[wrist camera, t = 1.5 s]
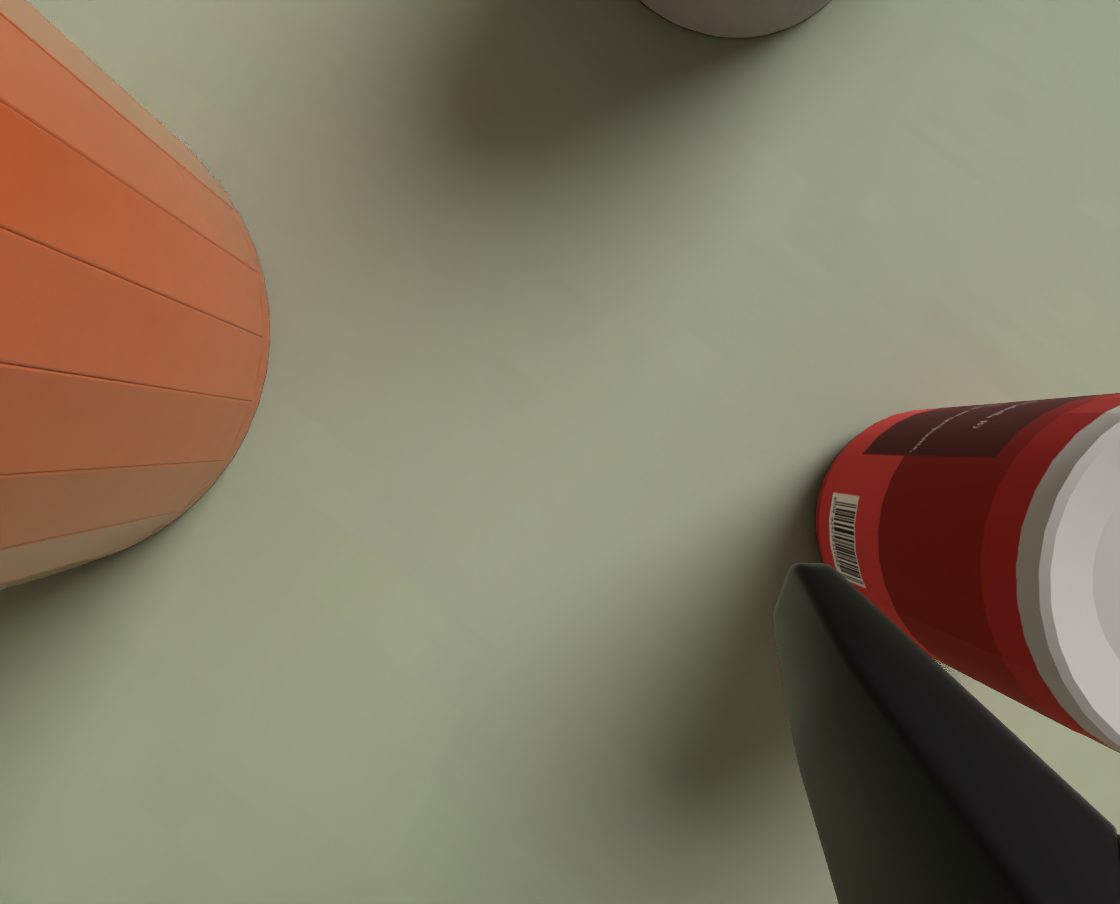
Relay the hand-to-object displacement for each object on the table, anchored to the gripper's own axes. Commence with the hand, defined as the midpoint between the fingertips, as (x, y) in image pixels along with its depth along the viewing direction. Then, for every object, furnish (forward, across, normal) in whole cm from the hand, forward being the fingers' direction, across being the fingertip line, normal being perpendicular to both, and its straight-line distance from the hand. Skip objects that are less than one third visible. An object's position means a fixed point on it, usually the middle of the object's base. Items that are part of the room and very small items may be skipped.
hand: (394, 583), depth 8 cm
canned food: (+12, -15, +11) cm, 23 cm away
